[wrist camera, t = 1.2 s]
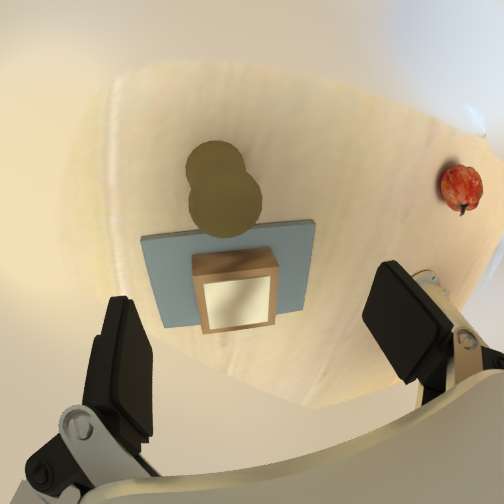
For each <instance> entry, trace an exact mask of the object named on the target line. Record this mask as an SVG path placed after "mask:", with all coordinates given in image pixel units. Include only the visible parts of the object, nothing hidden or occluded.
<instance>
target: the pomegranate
mask: <svg viewBox="0 0 504 504" xmlns="http://www.w3.org/2000/svg"><path fill="white" fill-rule="evenodd" d="M441 191H442V194H443V196H444V199H445V202H446V203H447V205H448V206H449V207H450V208H451V209H452V210H454V211H460V212H461V214H460V217H461V216H462V215H463V214H464V212H465V210H473V209H475V208H476V207H477V206H478V203H479V200H480V198H481V197H482V194H483V185H482V180H481V177H480V175H479V174H478V172H477V171H476V170H475V169H474V168H472V167H465V166H464V165H457V166H455V167H453V168H450V169H447V170H446V171H445V172H444V174H443V177H442V180H441Z"/></svg>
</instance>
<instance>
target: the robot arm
mask: <svg viewBox="0 0 504 504" xmlns="http://www.w3.org/2000/svg"><path fill="white" fill-rule="evenodd" d="M449 293H450V292H449V290H448V289H446V290H443V291H442V290H441V289H440V287H439V286H438V277H437V276H436V274H435V273H433V272H432V271H423V272H420V273H418V274H416V275H415V276H413V277H411V276H410V275H409V274H408V273H407V272H406V271H405V270H404V268H403V267H402V266H401V265H400V264H399V263H398V262H397V261H395V260H392V261H386V262H382V263H381V264H380V266H379V267H378V269H377V272H376V275H375V278H374V281H373V284H372V287H371V290H370V293H369V296H368V299H367V302H366V304H365V307H364V310H363V313H362V318H363V321H364V323H365V324H366V326H367V327H368V329H369V330H370V332H371V333H372V335H373V337H374V338H375V340H376V341H377V343H378V344H379V346H380V348H381V349H382V351H383V352H384V354H385V356H386V357H387V359H388V360H389V362H390V364H391V365H392V367H393V369H394V370H395V372H396V374H397V375H398V377H399V378H400V379H401V380H403V381H404V383H405V384H406V385H407V384H409V383H411V382H413V381H415V380H416V378H418V380H419V387H418V394H417V401H416V407H415V410H414V411H413V412H410V413H409V414H407V415H405V416H403V417H401V418H399V419H397V420H395V421H393V422H391V423H389V424H387V425H384V426H382V427H380V428H378V429H376V430H373V431H372V432H369V433H367V434H364V435H362V436H359V437H357V438H354V439H352V440H349V441H347V442H344V443H341V444H338V445H336V446H333V447H330V448H327V449H324V450H321V451H318V452H314V453H311V454H307V455H304V456H300V457H297V458H293V459H289V460H285V461H281V462H277V463H273V464H268V465H262V466H258V467H252V468H246V469H240V470H233V471H225V472H218V473H209V474H198V475H183V476H166V477H163V476H162V475H161V474H160V473H159V472H158V471H157V470H156V469H155V468H154V467H152V465H151V464H150V463H149V462H148V461H147V460H146V459H145V458H144V457H143V456H142V455H141V454H140V452H141V443H149V437H152V435H153V417H152V416H153V414H152V370H153V369H152V368H153V352H152V347H151V345H150V343H149V340H148V338H147V335H146V333H145V330H144V328H143V325H142V323H141V320H140V318H139V315H138V312H137V310H136V307H135V304H134V302H133V300H132V299H130V300H128V297H127V296H116V297H111V298H110V300H109V303H108V307H107V311H106V315H105V319H104V323H103V327H102V331H101V335H96V337H95V338H94V341H93V345H92V350H91V355H90V359H89V365H88V370H87V376H86V381H85V387H84V393H83V400H82V405H73V406H71V407H69V408H67V409H66V410H65V411H64V412H63V413H62V415H61V417H60V420H59V432H60V433H58V434H57V435H56V436H55V437H54V438H52V439H51V440H50V441H49V442H48V443H46V444H45V445H44V446H43V447H42V448H40V449H39V450H38V451H37V452H35V453H34V454H33V455H32V456H31V457H30V458H29V459H28V460H27V462H26V465H25V474H26V478H27V479H26V481H24V480H22V481H21V483H20V485H19V487H18V489H17V491H16V493H15V495H14V497H13V499H12V501H11V503H10V504H504V354H503V353H501V352H499V351H496V350H493V349H490V348H489V347H488V345H487V344H486V343H485V342H484V341H483V340H482V338H481V337H480V336H479V335H478V333H477V332H476V331H475V330H474V328H473V327H472V326H471V325H470V324H469V322H468V321H467V320H466V319H465V318H464V317H463V316H462V314H461V313H460V312H459V311H458V310H457V308H456V307H455V306H454V305H453V304H452V303H451V302H450V301H449V298H448V297H447V296H448V295H449Z"/></svg>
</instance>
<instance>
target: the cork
mask: <svg viewBox="0 0 504 504" xmlns="http://www.w3.org/2000/svg"><path fill="white" fill-rule="evenodd" d="M186 176H187V179H188V181H189V184H190V186H191V191H190V195H189V212H190V214H191V217H192V219H193V221H194V223H195V224H196V225H197V226H198V227H199V228H200V230H201V231H203V232H204V233H206V234H208V235H210V236H212V237H217V238H221V239H222V238H233V237H236V236H239V235H242V234H243V233H245V232H246V231H248V230H249V229H251V228H252V226H253V225H254V224H255V223H256V221H257V220H258V218H259V216H260V213H261V211H262V194H261V191H260V187H259V185H258V184H257V183H256V181H255V180H254V179H253V177H252V176H251V175H250V174H248V173H247V172H246V170H245V165H244V161H243V158H242V155H241V154H240V152H239V151H238V150H237V148H235V147H234V146H232V145H231V144H229V143H227V142H223V141H209V142H206V143H203V144H201V145H200V146H198V147H197V148H196V149H194V150H193V152H192V153H191V154H190V156H189V157H188V160H187V164H186Z"/></svg>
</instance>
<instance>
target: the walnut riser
mask: <svg viewBox="0 0 504 504" xmlns="http://www.w3.org/2000/svg"><path fill="white" fill-rule="evenodd" d="M192 277H193V283H194V289H195V295H196V301H197V306H198V312H199V317H200V323H201V328H202V333H203V334H211V333H219V332H227V331H235V330H242V329H249V328H256V327H262V326H268V325H274V324H275V315H276V304H277V291H278V279H279V264H278V262H277V260H276V258H275V256H274V254H273V252H272V250H271V248H270V247H261V248H251V249H242V250H232V251H223V252H214V253H204V254H195V255H192Z"/></svg>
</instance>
